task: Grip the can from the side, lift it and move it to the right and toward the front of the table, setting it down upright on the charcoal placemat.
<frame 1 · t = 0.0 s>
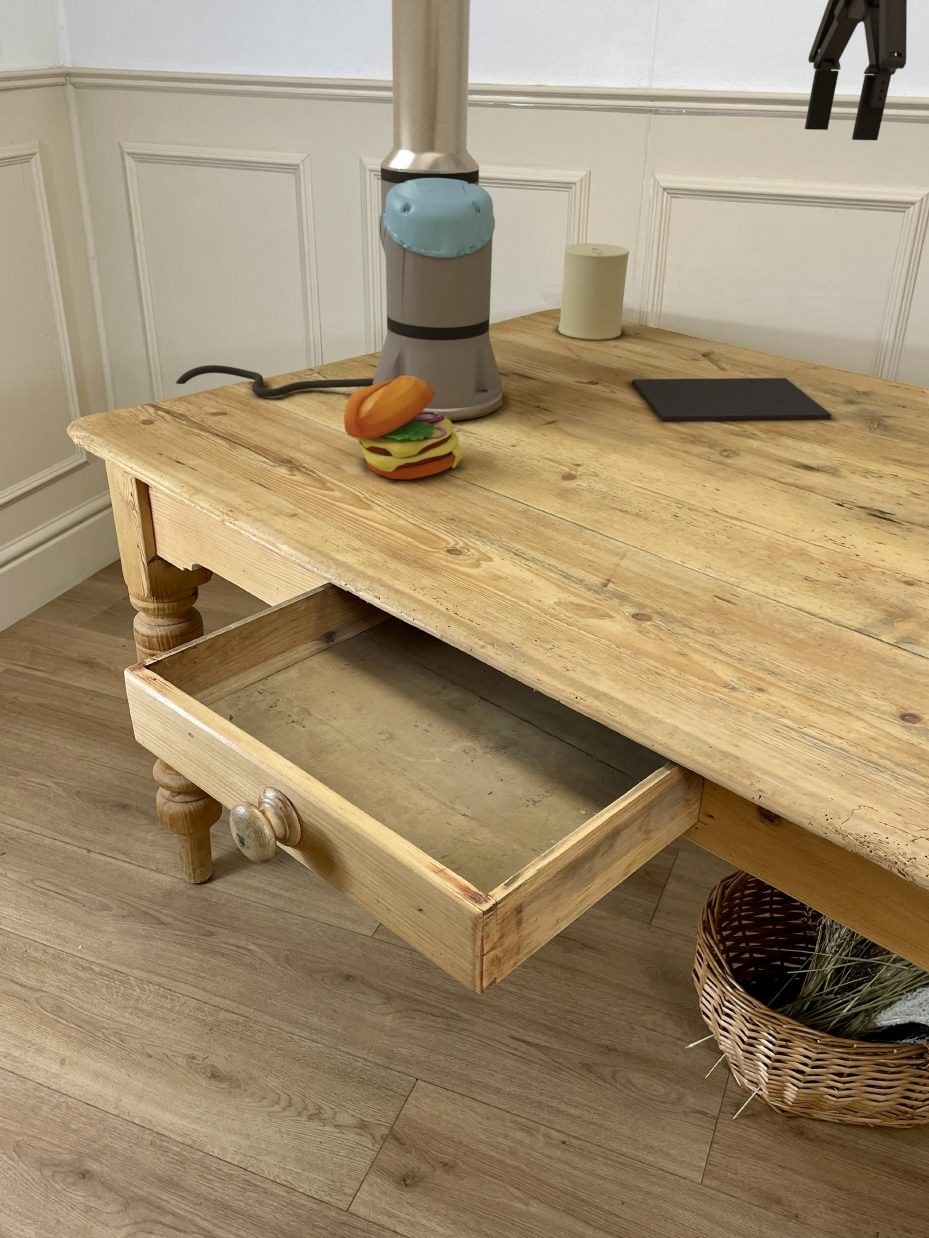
hand: (839, 135, 119), 28 cm above the table, tool pointing down, fingers open, 13 cm apart
can: (589, 333, 146), on the table
placemat: (727, 400, 120), on the table
cheeseburger: (403, 467, 100), on the table
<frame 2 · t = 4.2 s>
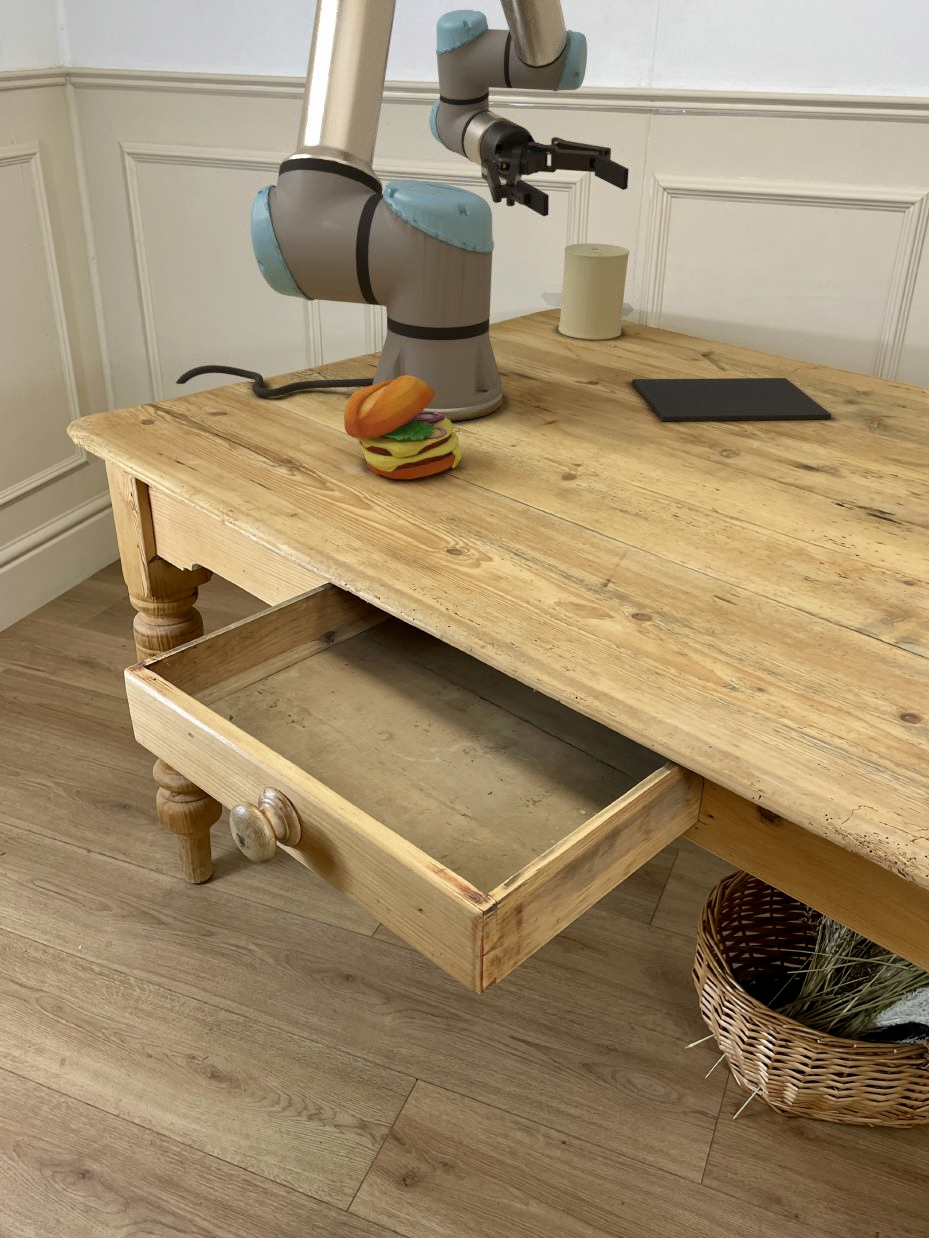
hand: (587, 192, 136), 19 cm above the table, tool horizontal, fingers open, 13 cm apart
nothing on the table moved.
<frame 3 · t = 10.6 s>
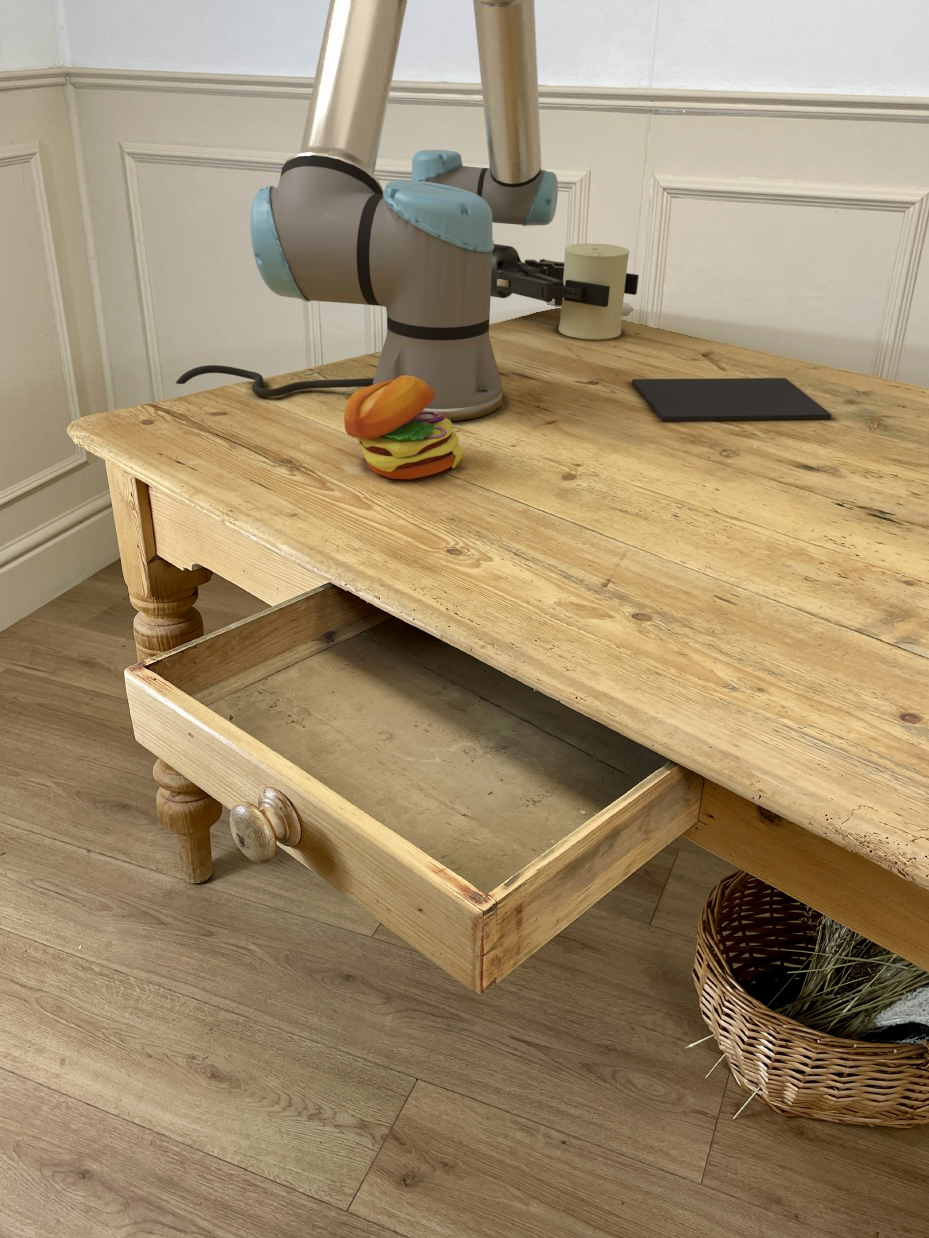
hand: (622, 290, 141), 6 cm above the table, tool horizontal, fingers closed on can, 9 cm apart
can: (589, 333, 146), on the table, touching gripper
everything else where it was.
when the fingers open (7 cm above the table, at t = 20.5 s): can stays where it is, resting on placemat.
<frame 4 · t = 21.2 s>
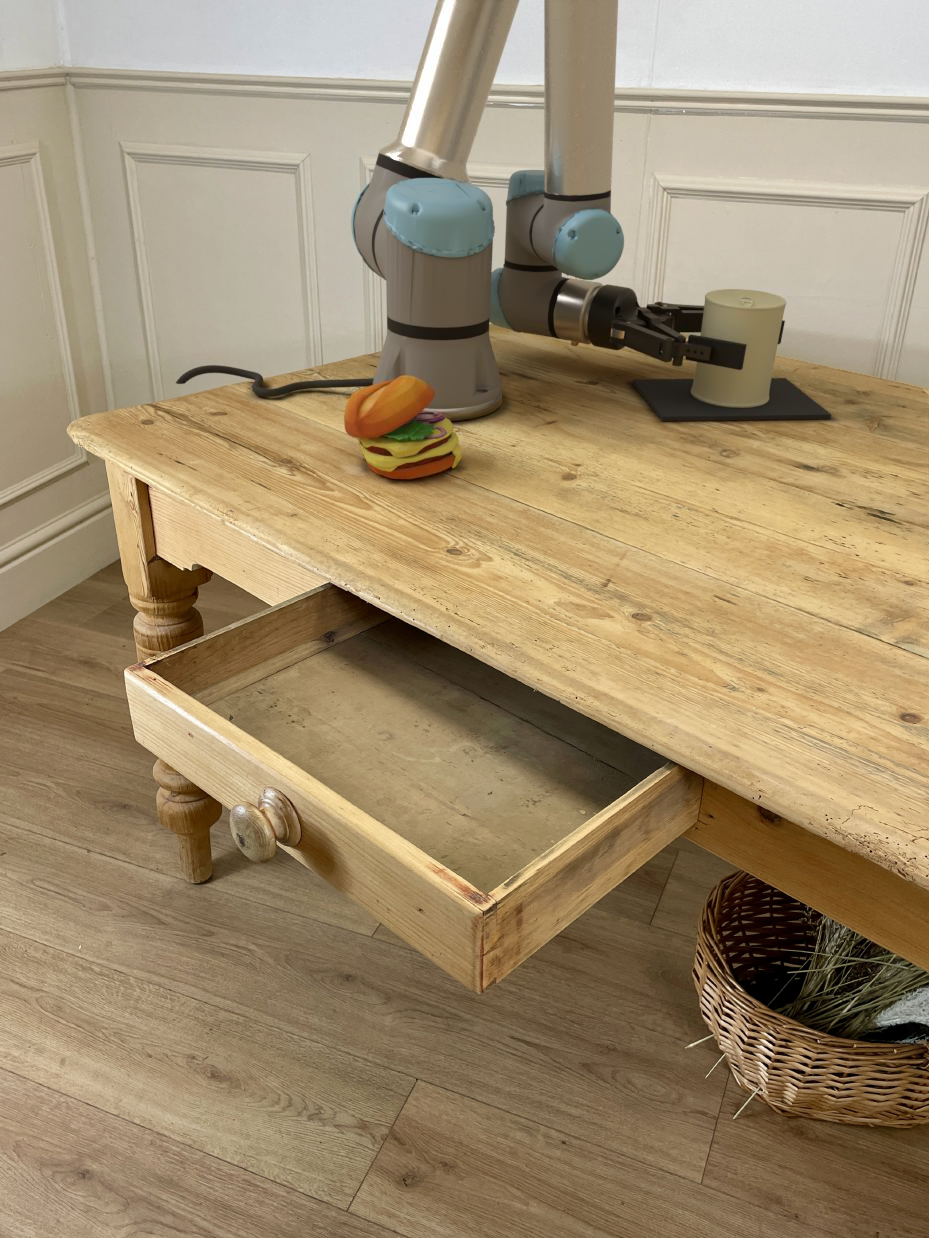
hand: (763, 344, 115), 7 cm above the table, tool horizontal, fingers open, 13 cm apart
can: (729, 397, 120), resting on placemat
everything else where it was.
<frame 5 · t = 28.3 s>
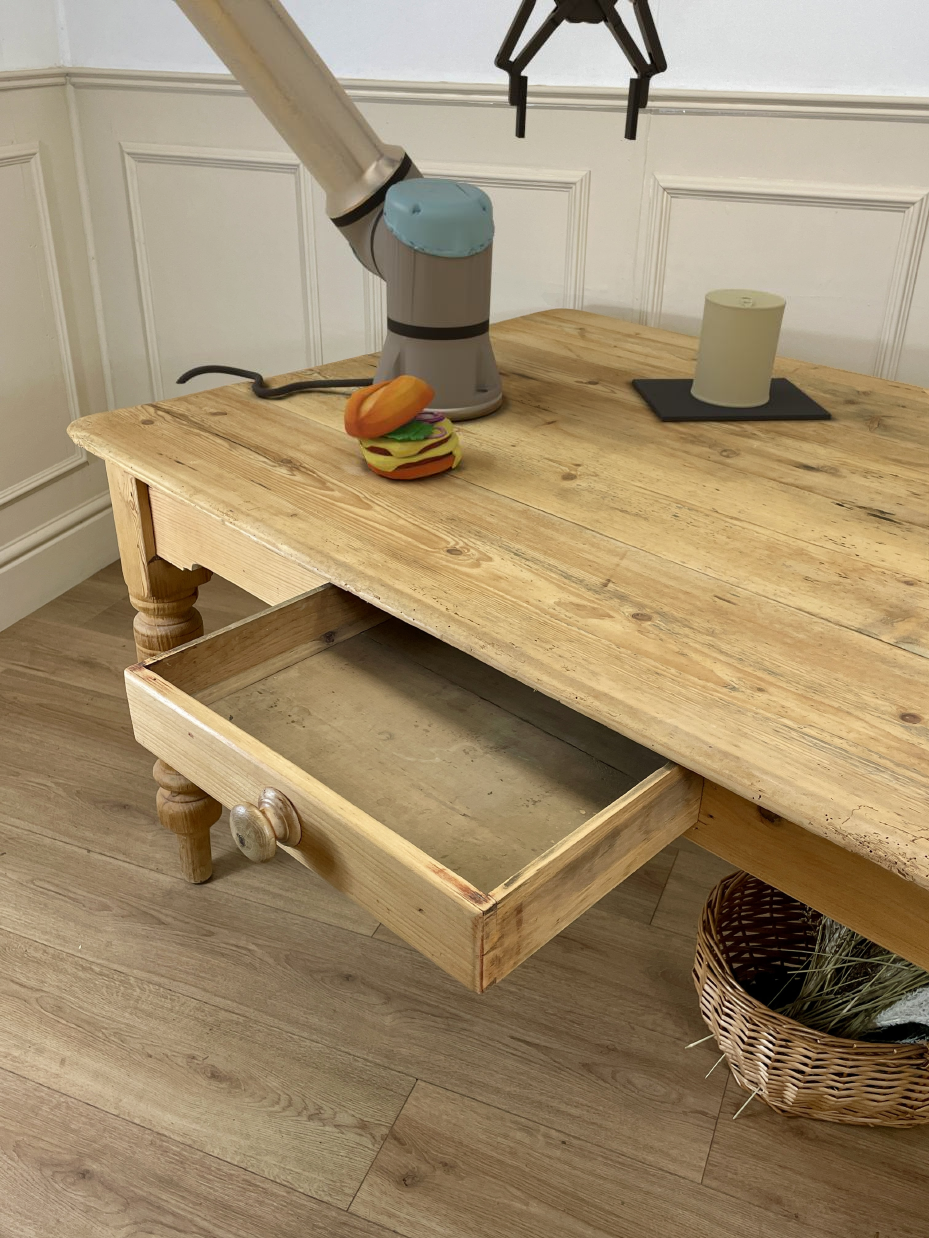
hand: (575, 138, 121), 27 cm above the table, tool pointing down, fingers open, 13 cm apart
nothing on the table moved.
at the end: can inside the target area on the placemat (0.2 cm from its centre), point 0.4 cm above the placemat's base; can tilted 0°; the gripper is holding nothing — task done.
